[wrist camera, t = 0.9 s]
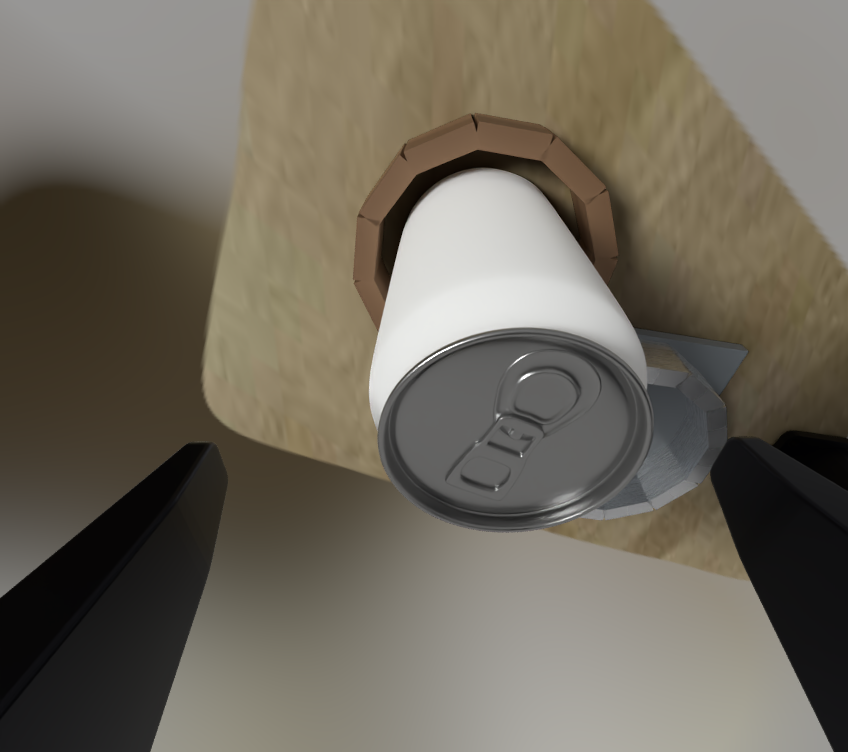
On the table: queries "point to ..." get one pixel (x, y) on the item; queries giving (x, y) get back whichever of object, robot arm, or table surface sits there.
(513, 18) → the table surface
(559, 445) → the can
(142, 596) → the robot arm
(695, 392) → the dock
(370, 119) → the table surface
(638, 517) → the table surface
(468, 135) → the brown segmented ring
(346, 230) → the table surface
